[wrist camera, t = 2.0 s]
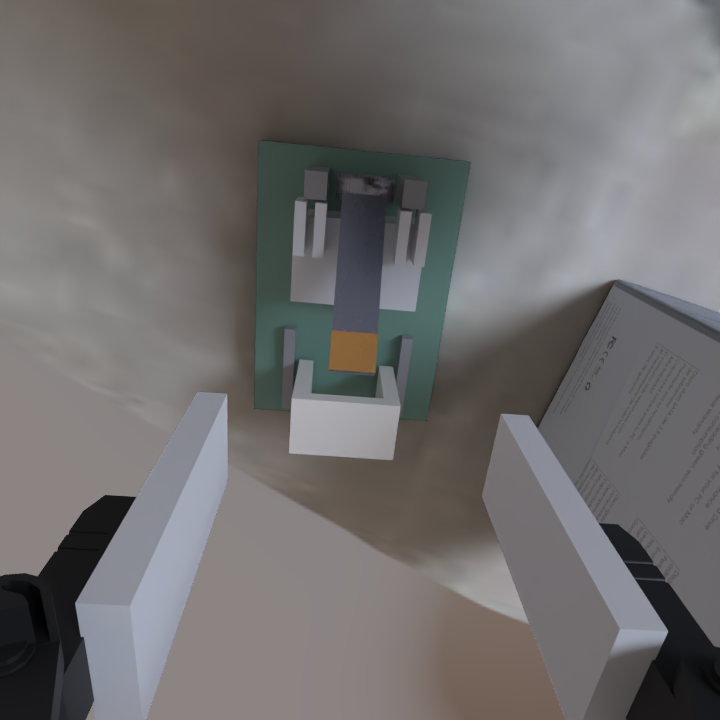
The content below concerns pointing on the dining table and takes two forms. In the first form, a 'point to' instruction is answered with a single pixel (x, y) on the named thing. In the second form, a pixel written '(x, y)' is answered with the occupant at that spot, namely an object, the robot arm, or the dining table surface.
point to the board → (321, 315)
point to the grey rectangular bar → (359, 272)
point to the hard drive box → (649, 435)
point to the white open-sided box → (344, 419)
